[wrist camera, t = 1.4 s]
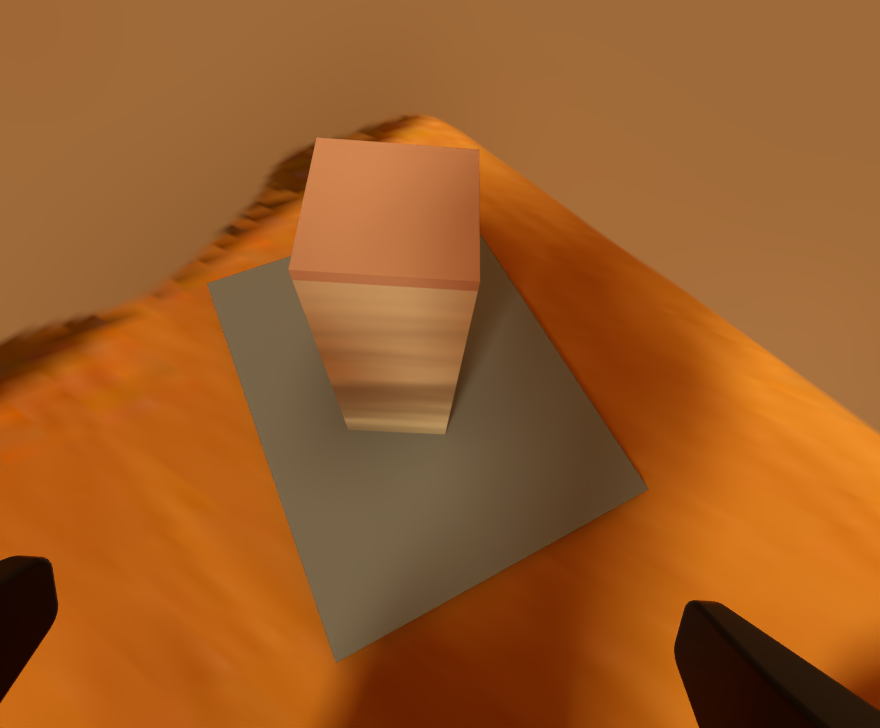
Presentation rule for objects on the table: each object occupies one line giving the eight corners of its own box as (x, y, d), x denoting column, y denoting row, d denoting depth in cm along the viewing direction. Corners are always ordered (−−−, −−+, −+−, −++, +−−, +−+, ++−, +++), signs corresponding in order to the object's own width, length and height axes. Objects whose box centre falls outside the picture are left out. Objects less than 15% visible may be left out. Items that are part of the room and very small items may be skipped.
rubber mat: (338, 660, 18) (336, 662, 18) (211, 290, 25) (207, 283, 25) (642, 491, 22) (648, 489, 21) (457, 208, 29) (458, 201, 28)
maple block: (445, 434, 22) (480, 281, 11) (348, 429, 22) (288, 269, 11) (447, 349, 24) (479, 149, 13) (358, 344, 24) (316, 137, 13)
